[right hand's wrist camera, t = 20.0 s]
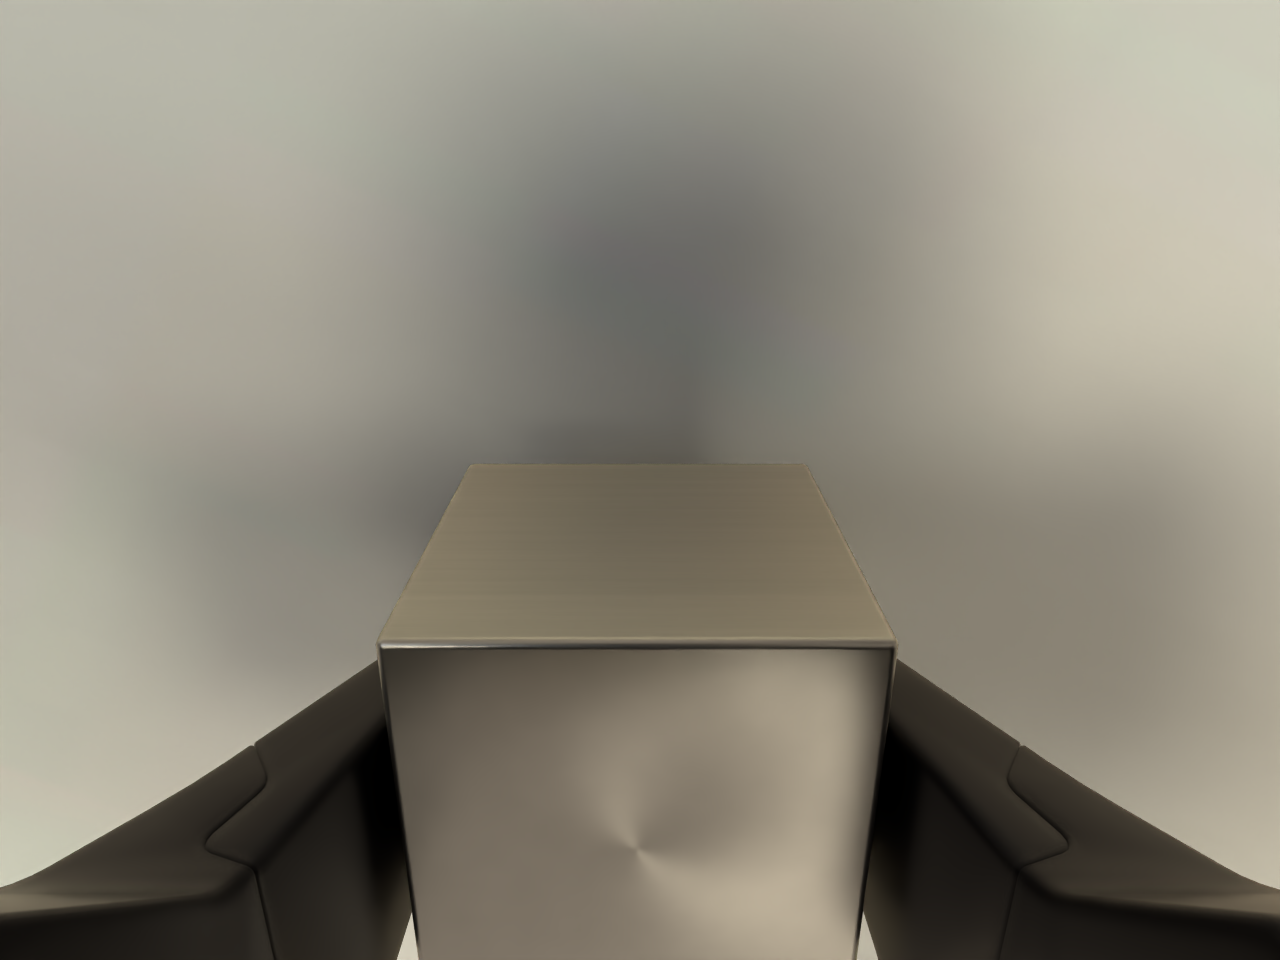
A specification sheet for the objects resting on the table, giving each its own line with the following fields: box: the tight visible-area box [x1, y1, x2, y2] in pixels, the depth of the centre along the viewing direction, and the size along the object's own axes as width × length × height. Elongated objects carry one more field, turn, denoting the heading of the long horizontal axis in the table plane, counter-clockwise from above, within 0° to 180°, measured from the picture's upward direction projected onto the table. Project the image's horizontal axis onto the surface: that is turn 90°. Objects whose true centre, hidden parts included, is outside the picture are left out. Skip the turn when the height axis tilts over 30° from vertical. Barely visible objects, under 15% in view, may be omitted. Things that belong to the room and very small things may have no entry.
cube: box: [376, 464, 898, 960], centre depth 10 cm, size 5×5×4 cm
